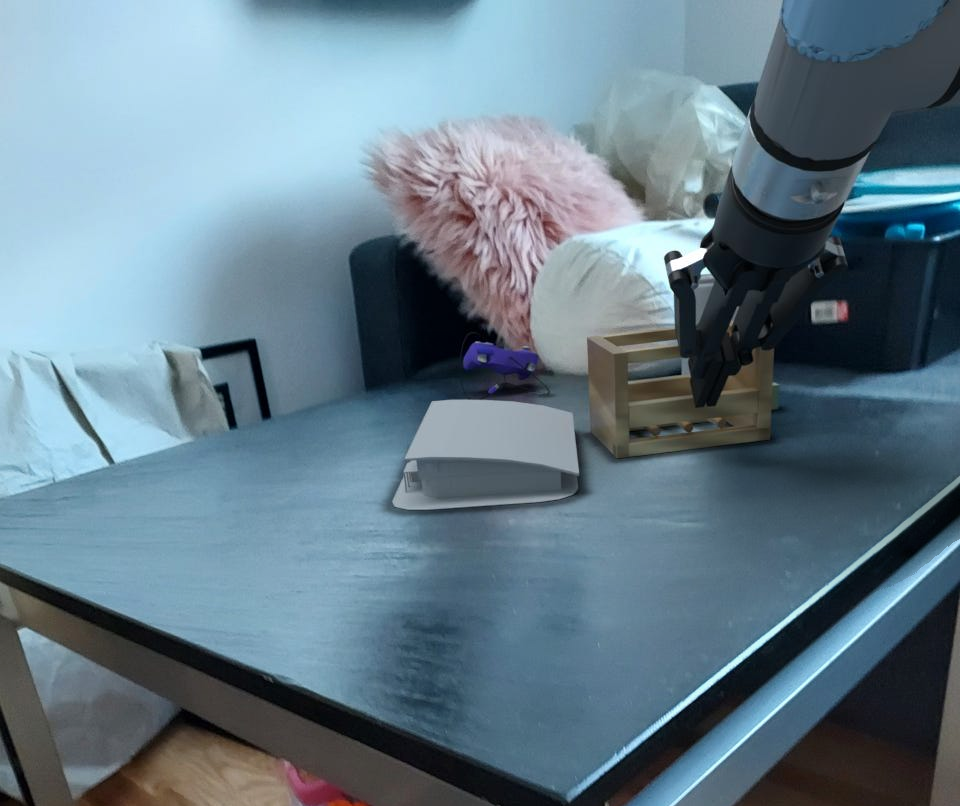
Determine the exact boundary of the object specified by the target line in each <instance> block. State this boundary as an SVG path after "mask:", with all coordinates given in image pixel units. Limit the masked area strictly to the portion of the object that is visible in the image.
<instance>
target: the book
mask: <svg viewBox="0 0 960 806" xmlns="http://www.w3.org/2000/svg"><path fill="white" fill-rule="evenodd" d="M574 423H575V422H574V415H573V412H570V411H566V410H562V409H559V408H556V407H555V408H554V407H551V406H547V405H543V404H536V403H529V402H528V403H527V402H519V401H515V400H513V401H512V400H494V399H493V400H492V399H482V400H479V399H472V400H470V399H444V400H432V401H431V402H430V404H429V407H428V408H427V411H426V412H425V415H424V417H423V418H422V421H421V423H420V425H419V427H418V429H417V431H416V433H415V436H414V437H413V440H412V442H411V444H410V446H409V448H408V450H407V453H406V454H405V457H404V459H403V460H404V462H407V463H406V465H405V466H404V469H403V471H402V474H403V476H402V479H401V481H400V483H399V486H398V488H397V490H396V492H395V494H394V497H393V499H392V500H391V502H392V504H393V506H394V508H397V509H401V510H405V511H434V510H447V509H461V508H462V509H463V508H476V507H490V506H491V507H492V506H493V507H494V506H506V505H520V504H521V505H522V504H535V503H544V502H545V503H546V502H552V501H553V502H554V501H558V500H559V501H560V500H563V499H566V498H568V497H571V496H574V495H575V494H576V493H577V492H578V490H579V484H578V477H579V476H580V468H579V458H578V451H577V443H576V433H575V424H574Z"/></svg>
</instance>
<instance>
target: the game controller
mask: <svg viewBox="0 0 960 806" xmlns="http://www.w3.org/2000/svg"><path fill="white" fill-rule="evenodd" d="M471 334H476V335H478V336H480V337H481V338H482V339H483V340H485V342H481V341H475V342H472V344H470V346H469V348H468V350H467V351H466V353H465V355H464V357H463V360H462V353H463V348H464V344H465V341H466V339H467V337H468V336H469V335H471ZM521 349H522V350H521ZM521 349H520V350H511V349H505V348H499V347H498V346H497V345H494V343H492V342H489V341H488V340H487V339H486V338H485V337H484V336H483V335H481V334H480V333H478V332H476V331H471V332H469V333H467V334H466V336H465V338H464V339H463V341H462V344H461V350H460V357H459V374H460V375H459V376H460V385H461V387H462V391H463V393H464V395H465V396H466V398H468V400H473V398H470V397H469V396H468V395H467V393H466V391H465V388H464V385H463V379H462V363H463V369H464V370H465V371H471V370H474V369H477V368H484V369H491V370H492V371H494V372H496V373H498V374H499V375H502V376H503V380H504V382H502V383H501V384H500V383H496V384H495V385H493V386H492V387H491V388H490V389H489V390H488V393H487V394H486V395H485V396H483V397H481V398H479V399H478V400H485V398H487V397H488V396H490V395H491V396H493V395H494V394H495V393H496V392H497V391H498V390H499V389H500V387H501V386H502V387H505V386H506V385H509V386H515V387H517V388H521V389H524V390H528V391H531V392H535V393H539V394H541V392H539V391H536V390H532V389H529V388H526V387H522V386H519V385H516V384H512V383H508V382H506V376H509V375H514V374H516V377H517V379H518V380H519V381H524V380H526V379H529V378H530V376H532V377H533V378H535V379H536V380H537V381H538V382H539V383H541V385H543V387H545V389H546V390H547V393H545V392H542V394H543V395H544V394H545V395H549V394H551V391H550V389H549V388H548V387H547V385H545V384H544V383H543V382H542V381H541V380H540V379H539V378H538V377H536V375H534V374H535V372H536V370H537V368H538V363H539V362H538V361H539V354H538V353H534V352H533V351H530V350H531V347H530V346H528V345H524V346H522V347H521Z"/></svg>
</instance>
